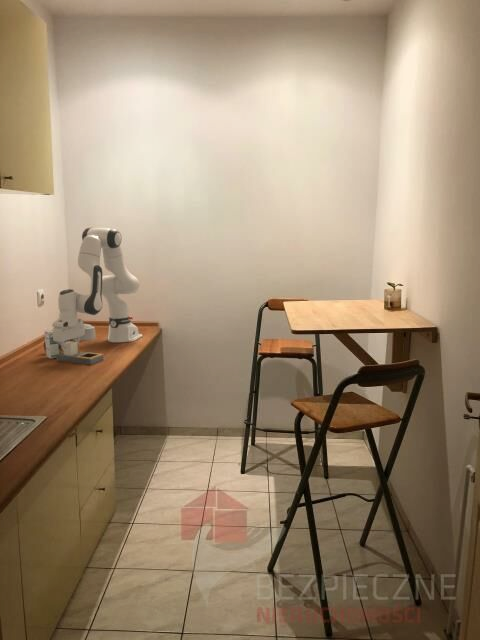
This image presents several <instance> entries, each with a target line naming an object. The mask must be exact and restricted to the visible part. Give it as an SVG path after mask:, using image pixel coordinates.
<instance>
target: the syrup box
mask: <svg viewBox="0 0 480 640" xmlns="http://www.w3.org/2000/svg"><path fill="white" fill-rule="evenodd" d="M43 332H44V342H45V344H46V351H45V352H46V357H47V358H48V359H57V355H58V354H61V353H62V351H60V343H58V342H54V340H53V329H47V330H44V331H43Z"/></svg>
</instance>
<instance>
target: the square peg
mask: <svg viewBox="0 0 480 640" xmlns="http://www.w3.org/2000/svg"><path fill="white" fill-rule="evenodd" d="M64 345H65V346H66V349H65V350H64V351H63V353H64V355H68V356H73V355H76V354H78V352H79V350H78V348H79V347H78V346H79V345H78V346H77V342H75V341H73V340H72V341H71V340H69V341H68V342H65V343H64Z"/></svg>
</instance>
